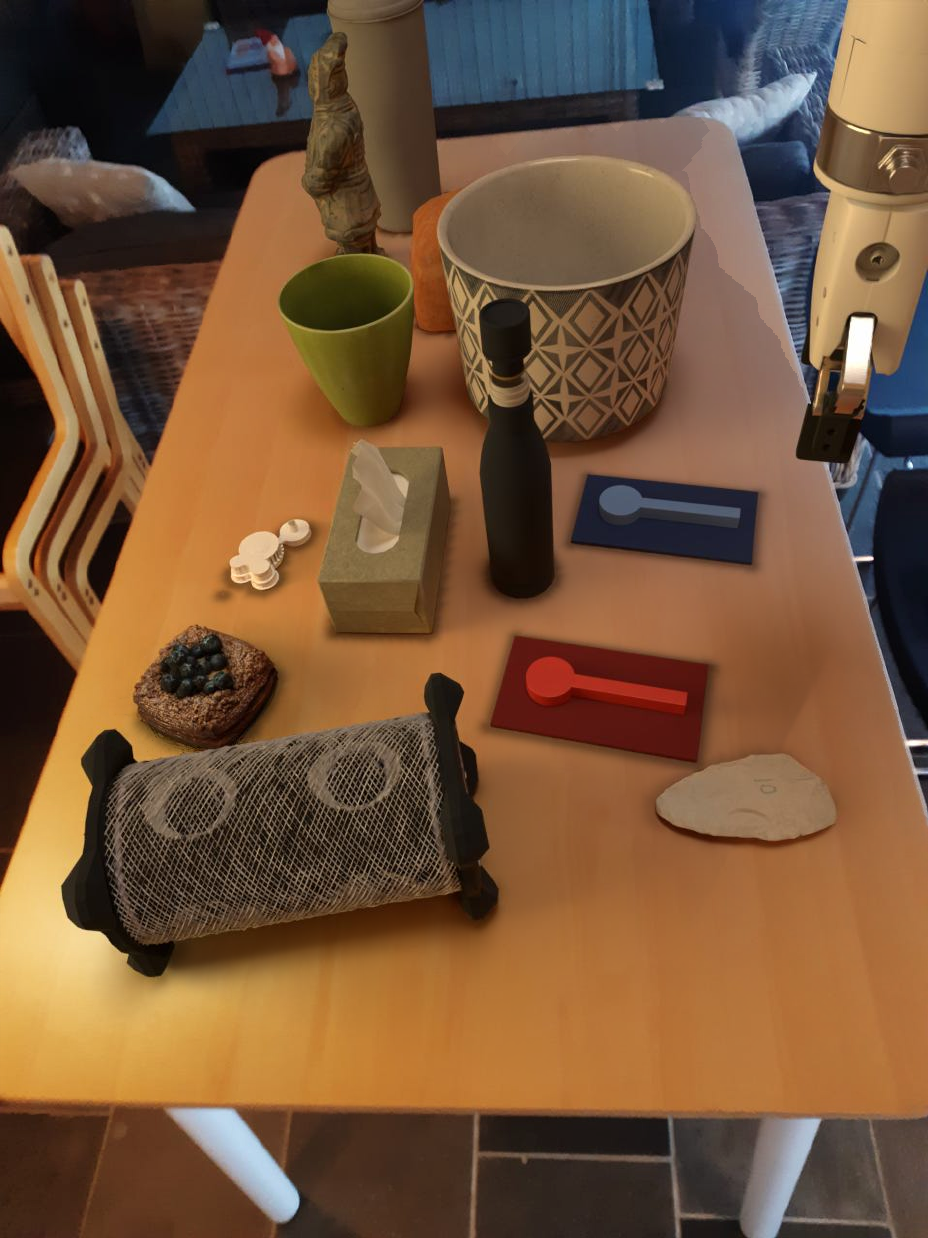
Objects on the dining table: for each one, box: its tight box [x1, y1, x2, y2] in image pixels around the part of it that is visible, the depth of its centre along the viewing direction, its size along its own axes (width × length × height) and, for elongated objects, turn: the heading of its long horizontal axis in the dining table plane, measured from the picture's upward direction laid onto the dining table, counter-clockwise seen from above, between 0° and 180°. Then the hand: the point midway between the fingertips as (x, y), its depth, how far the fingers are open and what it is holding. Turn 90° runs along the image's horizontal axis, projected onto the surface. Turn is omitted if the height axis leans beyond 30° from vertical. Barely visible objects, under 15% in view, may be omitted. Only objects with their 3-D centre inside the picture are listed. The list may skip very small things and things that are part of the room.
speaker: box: [60, 672, 500, 978], centre depth 66 cm, size 15×28×15 cm, turn 98°
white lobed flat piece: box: [219, 518, 312, 595], centre depth 93 cm, size 9×9×2 cm
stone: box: [655, 752, 837, 842], centre depth 71 cm, size 8×14×2 cm, turn 95°
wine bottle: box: [478, 298, 555, 599], centre depth 77 cm, size 6×6×30 cm
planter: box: [437, 154, 698, 443], centre depth 97 cm, size 26×26×22 cm
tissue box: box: [316, 438, 452, 634], centre depth 86 cm, size 19×10×16 cm, turn 175°
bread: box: [409, 186, 466, 333], centre depth 113 cm, size 14×33×16 cm, turn 94°
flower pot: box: [277, 254, 415, 428], centre depth 102 cm, size 15×15×16 cm
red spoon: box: [526, 657, 688, 715], centre depth 78 cm, size 14×4×2 cm, turn 75°
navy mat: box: [570, 473, 759, 566], centre depth 92 cm, size 18×10×1 cm, turn 75°
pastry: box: [132, 623, 280, 752], centre depth 81 cm, size 11×12×6 cm
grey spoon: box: [599, 485, 741, 529], centre depth 91 cm, size 14×4×2 cm, turn 75°
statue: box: [301, 32, 387, 257], centre depth 116 cm, size 11×9×30 cm
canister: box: [326, 0, 443, 233], centre depth 122 cm, size 13×13×35 cm
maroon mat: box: [489, 635, 709, 763], centre depth 79 cm, size 18×10×1 cm, turn 75°
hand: (822, 408), depth 58 cm, fingers open, 9 cm apart
